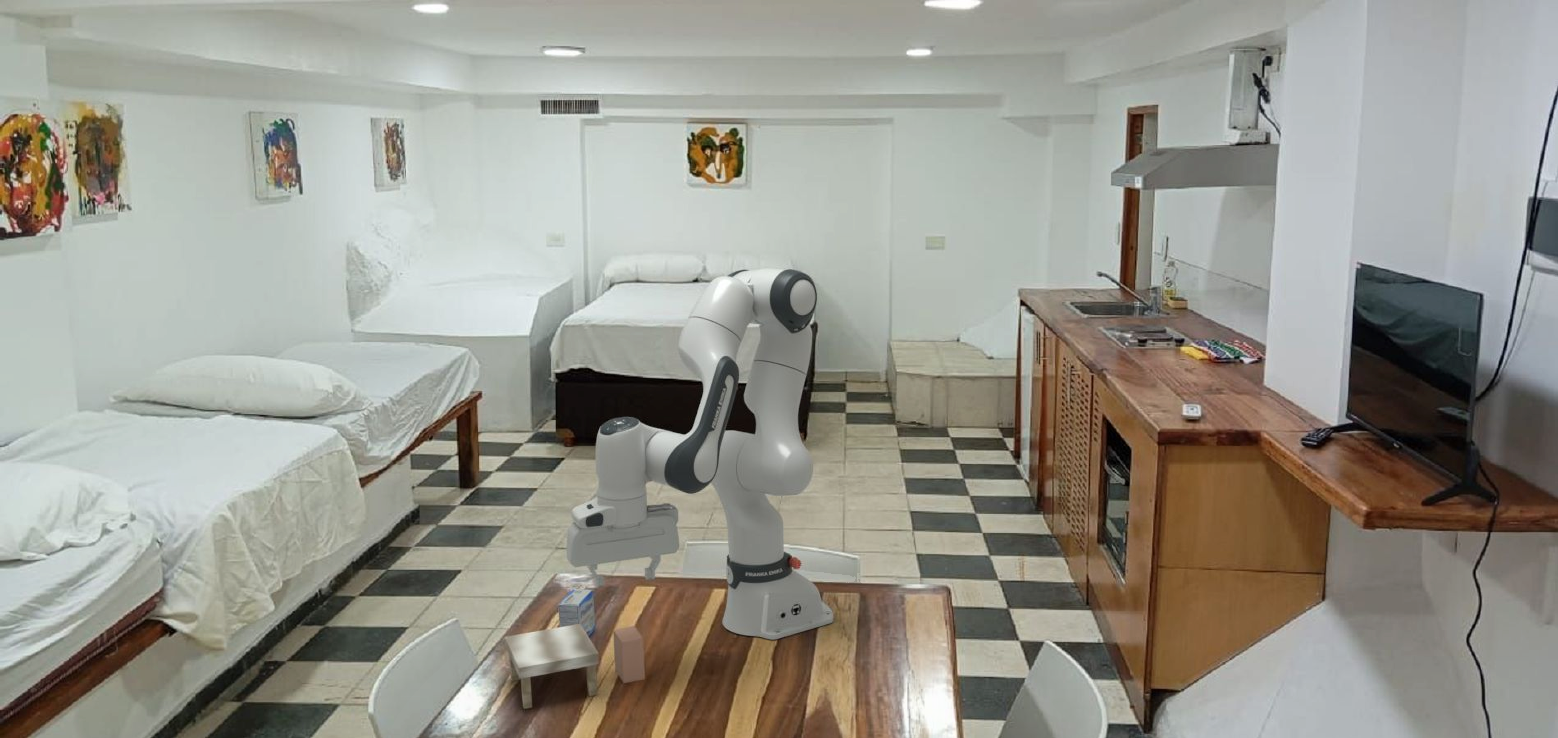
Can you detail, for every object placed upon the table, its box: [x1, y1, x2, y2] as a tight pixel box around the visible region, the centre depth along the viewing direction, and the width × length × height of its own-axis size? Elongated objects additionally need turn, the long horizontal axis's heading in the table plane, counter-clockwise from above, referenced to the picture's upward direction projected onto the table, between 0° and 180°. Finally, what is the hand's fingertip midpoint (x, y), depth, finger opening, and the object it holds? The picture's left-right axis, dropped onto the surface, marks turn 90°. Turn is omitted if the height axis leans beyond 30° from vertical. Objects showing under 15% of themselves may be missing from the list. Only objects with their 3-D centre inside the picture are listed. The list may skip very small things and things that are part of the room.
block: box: [612, 625, 646, 684], centre depth 223 cm, size 4×6×8 cm, turn 22°
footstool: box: [504, 624, 600, 710], centre depth 218 cm, size 14×14×8 cm
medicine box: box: [557, 588, 596, 638], centre depth 239 cm, size 8×4×9 cm, turn 168°
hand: (624, 582), depth 220 cm, fingers open, 8 cm apart
